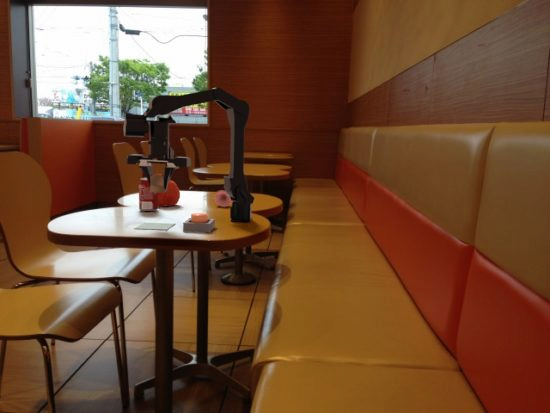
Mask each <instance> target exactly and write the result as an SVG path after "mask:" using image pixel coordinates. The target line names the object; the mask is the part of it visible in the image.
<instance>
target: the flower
mask: <svg viewBox="0 0 550 413" xmlns="http://www.w3.org/2000/svg"><path fill="white" fill-rule="evenodd" d="M213 198H214V201H215V204H217V206H220V207H221V208H222V207H223V208H226V207H229V206H232V202H233V201H231V198H230V196H229V195H228V194H227V193H226V191H225V190H223V189H221V190H218V191H216V193H214V196H213Z"/></svg>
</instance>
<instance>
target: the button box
mask: <svg viewBox="0 0 550 413" xmlns="http://www.w3.org/2000/svg"><path fill="white" fill-rule="evenodd" d="M215 221H216V219H215V218H208V223H191V217H189V218H187V219H186V220H185V221H184V222H182V228H183V230H182V231H183V232H195V233H197V232H198V233H210V232H212V230H213V229H214V228H215V226H216V225H215V224H216V223H215Z"/></svg>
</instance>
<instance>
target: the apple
mask: <svg viewBox="0 0 550 413" xmlns="http://www.w3.org/2000/svg"><path fill="white" fill-rule="evenodd" d="M177 185H178V184H176V182H175V181H173V180H171V179H170V181H169V184H168V187H167V192H165V193H158V207H170V206H171V207H173V206H176V205H177V204H178V203H179V201H180V198H181V192H180V189H179V187H178V186H177Z"/></svg>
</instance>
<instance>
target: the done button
mask: <svg viewBox="0 0 550 413" xmlns="http://www.w3.org/2000/svg"><path fill="white" fill-rule="evenodd" d="M208 216H209V215H208V213H205V212H203V213H202V212H193V213H191V214H190V218H191V223H208V219H209V218H208Z"/></svg>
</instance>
